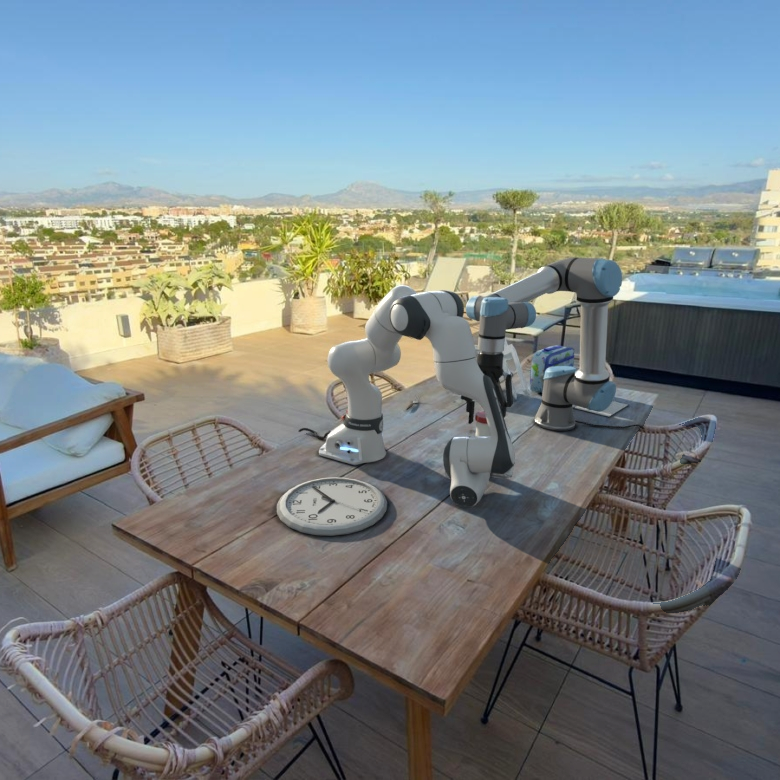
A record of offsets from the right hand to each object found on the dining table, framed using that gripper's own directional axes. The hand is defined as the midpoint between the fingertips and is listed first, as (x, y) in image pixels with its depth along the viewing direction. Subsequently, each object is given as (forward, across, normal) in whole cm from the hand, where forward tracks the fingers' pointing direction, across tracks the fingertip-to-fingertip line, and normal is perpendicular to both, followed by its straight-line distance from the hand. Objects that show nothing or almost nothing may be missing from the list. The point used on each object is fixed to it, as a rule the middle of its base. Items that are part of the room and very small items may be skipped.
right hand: (484, 424), depth 158 cm
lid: (-3, 0, 0) cm, 3 cm away
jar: (+16, 0, 0) cm, 16 cm away
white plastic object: (+16, +25, -81) cm, 86 cm away
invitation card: (+16, -27, -87) cm, 93 cm away
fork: (+16, +45, -49) cm, 68 cm away
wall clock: (+16, +30, +38) cm, 51 cm away
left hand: (+10, 0, -1) cm, 10 cm away
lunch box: (+16, -3, -101) cm, 102 cm away
